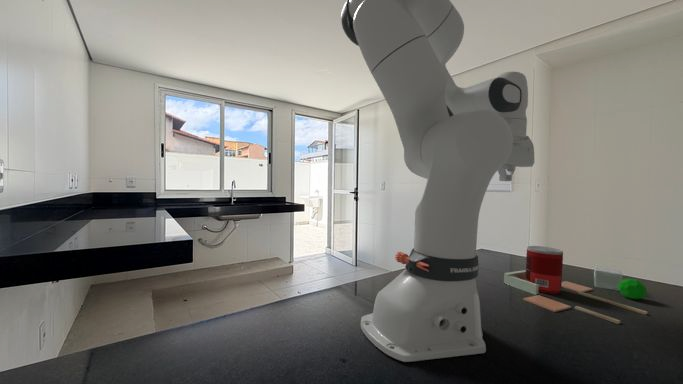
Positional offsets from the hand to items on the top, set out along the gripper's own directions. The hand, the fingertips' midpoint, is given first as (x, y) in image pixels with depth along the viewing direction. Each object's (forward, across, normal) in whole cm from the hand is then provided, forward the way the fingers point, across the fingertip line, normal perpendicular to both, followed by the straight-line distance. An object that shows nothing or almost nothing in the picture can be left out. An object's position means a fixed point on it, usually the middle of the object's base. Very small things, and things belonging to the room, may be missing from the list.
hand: (505, 181), depth 80 cm
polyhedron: (+29, -22, +20) cm, 42 cm away
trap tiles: (+29, -6, +12) cm, 32 cm away
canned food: (+29, -6, +8) cm, 31 cm away
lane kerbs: (+29, -6, +20) cm, 36 cm away
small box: (+29, -27, +13) cm, 42 cm away
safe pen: (+29, -6, +6) cm, 30 cm away
